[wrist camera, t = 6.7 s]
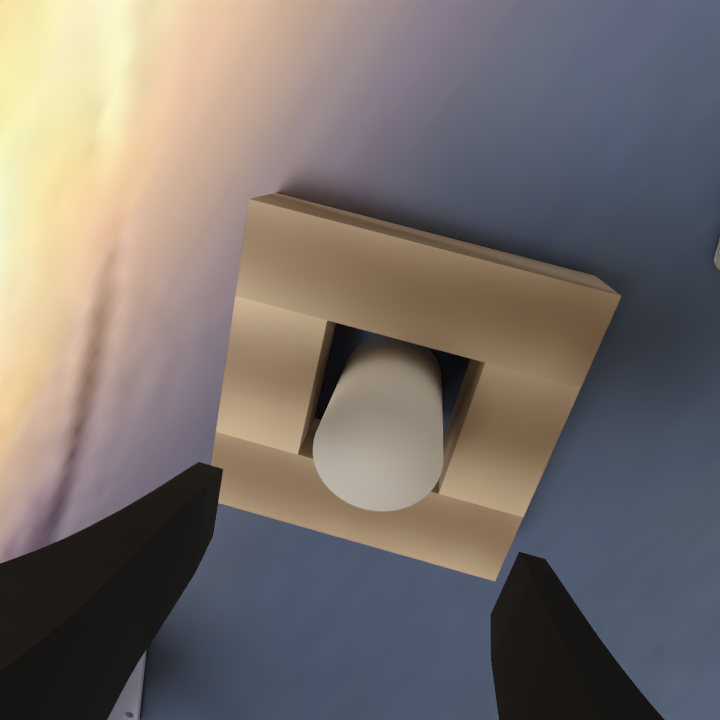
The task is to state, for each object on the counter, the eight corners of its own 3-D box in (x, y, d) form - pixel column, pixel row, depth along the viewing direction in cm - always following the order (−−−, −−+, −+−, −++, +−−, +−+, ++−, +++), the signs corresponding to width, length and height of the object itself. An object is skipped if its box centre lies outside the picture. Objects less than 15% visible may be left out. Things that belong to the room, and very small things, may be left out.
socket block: (487, 531, 24) (495, 581, 21) (232, 459, 24) (206, 499, 21) (594, 275, 19) (621, 296, 16) (276, 192, 19) (249, 199, 17)
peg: (419, 436, 22) (413, 528, 17) (331, 402, 22) (296, 483, 17) (457, 354, 21) (465, 426, 15) (363, 318, 21) (336, 377, 15)
